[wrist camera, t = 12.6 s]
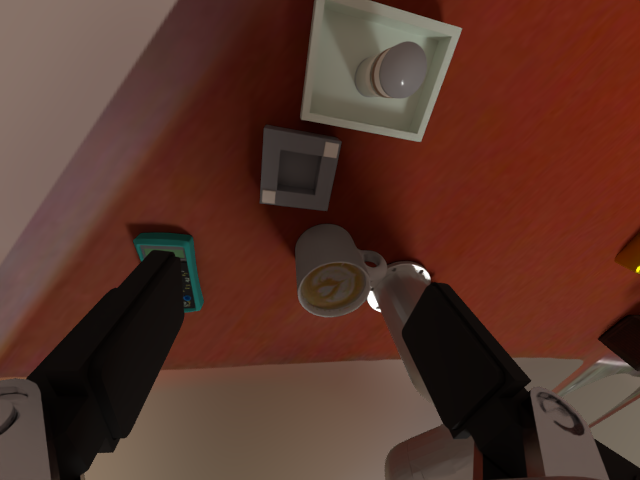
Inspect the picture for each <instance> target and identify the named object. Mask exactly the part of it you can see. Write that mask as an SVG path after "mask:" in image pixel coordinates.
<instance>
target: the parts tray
mask: <svg viewBox="0 0 640 480" xmlns="http://www.w3.org/2000/svg"><path fill="white" fill-rule="evenodd" d="M461 30H462V28H459V27H456V26H453V25H449V24H446V23H443V22H440V21H436V20H433V19H430V18H426V17H423V16H420V15H416V14H413V13H410V12H407V11H403V10H400V9H397V8H393V7H390V6H387V5H383V4H380V3H377V2H374V1H370V0H314V6H313V15H312V23H311V31H310V39H309V47H308V56H307V64H306V72H305V80H304V88H303V96H302V105H301V113H300V118H301V120H306V121H312V122H317V123H322V124H328V125H333V126H338V127H343V128H349V129H354V130H359V131H365V132H370V133H375V134H381V135H386V136H391V137H396V138H402V139H407V140H412V141H418V142H421V140H422V137H423V135H424V132H425V129H426V126H427V124H428V121H429V118H430V115H431V113H432V110H433V107H434V104H435V102H436V99H437V96H438V93H439V91H440V88H441V85H442V82H443V80H444V77H445V74H446V72H447V69H448V66H449V63H450V61H451V58H452V55H453V52H454V50H455V47H456V44H457V41H458V39H459V36H460V33H461ZM406 41H410V42H414V43H416V44H418V45H419V46H420V47H421V48H422V49H423V51H424V53H425V55H426V59H427V71H426V75H425V78H424V81H423V83H422V84H421V86H420V87H419V89H418V90H417V91H416V92H415V93H414V94H412V95H411V96H409V97H406V98H383V97H365V96H363V95H361V94H360V93H359V92H358V90H357V89H356V86H355V72H356V69H357V67H358V66H359V64H360V63H361V62H362V61H363V60H364V59H366V58H368V57H371V56H374V55H376V54H378V53H381V52H382V51H384V50H386V49H388V48H391V47H393V46H395V45H397V44H399V43H402V42H406Z"/></svg>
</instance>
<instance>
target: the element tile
mask: <svg viewBox="0 0 640 480" xmlns="http://www.w3.org/2000/svg"><path fill="white" fill-rule="evenodd" d="M615 262H616V263H618V264H620V265H621V266H623V267H625V268H627V269H629V270H631V271H633V272H635V273H638V274H640V232H639V233H638V234H637V235H636V236H635V237H634V238H633V239H632V240H631V241H630V242H629V243H628V244H627V245H626V246H625V247H624V248H623V250H622V251H621V252H620V253H619V254H618V255H617V256H616V258H615Z"/></svg>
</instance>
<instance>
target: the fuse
mask: <svg viewBox="0 0 640 480" xmlns="http://www.w3.org/2000/svg"><path fill="white" fill-rule="evenodd" d="M426 71H427V59H426V55H425V53H424V51H423V49H422V48H421V47H420V46H419V45H418V44H416V43H414V42H410V41H406V42H402V43H399V44H397V45H395V46H393V47H391V48H388V49H386V50H384V51H382V52H381V53H378V54H376V55H374V56H371V57H368V58H366V59H364V60H363V61H362V62H361V63H360V64H359V66H358V67H357V69H356V72H355V86H356V89H357V90H358V92H359V93H360V94H361V95H363V96H365V97H383V98H406V97H409V96H411V95H412V94H414V93H415V92H416V91H417V90H418V89H419V87H420V86H421V84H422V83H423V81H424V78H425V75H426Z"/></svg>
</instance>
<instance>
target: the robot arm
mask: <svg viewBox="0 0 640 480" xmlns="http://www.w3.org/2000/svg"><path fill="white" fill-rule="evenodd" d="M367 301H368V303H369V305H370V306H371V307H372V308H373V309H375V310H377V311H379V312H381V313H382V315H383V317H384V320H385V322H386V324H387V327H388V329H389V331H390V333H391V336H392V338H393V340H394V343H395V345H396V347H397V349H398V352H399V354H400V356H401V359H402V361H403V363H404V365H405V368H406V370H407V372H408V375H409V377H410V379H411V381H412V383H413V385H414V387H415V388H416V390H417V391H418V392H419V394H420V395H421V396H422V397H424V398H425V399H426V400H427V401H428V402H430V403H431V404H433V405H434V406H435V407H436V409H437V412H438V414H439V416H440V418H441V420H442V422H443V424H441V425H440V426H438V427H436V428H433V429H431V430H428V431H426V432H424V433H421V434H419V435H417V436H414V437H412V438H410V439H408V440H405V441H404V442H401V443H399V444H397V445H396V446H394V447H393V448H392V449H391V450H390V452H389V453H388V455H387V457H386V460H385V480H640V468H639V467H637V466H636V465H634V464H633V463H631V462H630V461H628V460H626V459H625V458H623V457H622V456H620V455H619V454H617V453H616V452H614V451H612V450H611V449H609V448H608V447H606V446H605V445H603V444H602V443H600V442H599V441H597V440H596V439H594V438H593V435H592V433H591V430H590V428H589V426H588V424H587V423H586V421H585V420H584V419H583V417H582V416H581V415H580V414H579V413H578V412H577V411H576V409H575V408H573V406H571V405H570V404H569V403H568V402H567V401H565V400H564V399H563V398H562V397H560V396H559V395H557V394H556V393H554V392H552V391H550V390H548V389H546V388H542V387H533V388H532V389H531V390H530V391H529V392H528V391H527V390H526V389H525V388H524V387H525V386H526V385H527V384H528V383H530V382H531V380H530V379H529V378H528V376H527V375H526V374H525V373H524V372H523V371H522V370H521V368H520V367H519V366H518V365H517V364H516V362H515V361H514V360H513V359H512V358H511V357H510V355H509V354H508V353H507V352H506V351H505V350H504V348H503V347H502V346H501V345H500V344H499V343H498V341H497V340H496V339H495V338H494V337H493V336H492V334H491V333H490V332H489V331H488V330H487V329H486V328H485V326H484V325H483V324H482V323H481V322H480V321H479V319H478V318H477V317H476V316H475V315H474V314H473V312H472V311H471V310H470V309H469V308H468V307H467V305H466V304H465V303H464V302H463V301H462V300H461V298H460V297H459V296H458V295H457V294H456V293H455V291H454V290H453V289H452V288H451V287H450V286H449V285H448V284H445V283H436V282H433V283H431V279H430V275H429V273H428V272H427V270H426V269H425V268H424V267H423V266H422V265H420V264H418V263H416V262H412V261H399V262H395V263H392V264H389V265H387V272H386V275H385V276H384V277H383V278H381V279H379V280H374V281H371V290H370V293H369V296H368V298H367ZM183 320H184V302H183V287H182V272H181V259H180V257H175V254H174V252H170V251H161V250H152V251H151V252H150V253H149V254H148V255H147V256H146V257H145V258H144V260H143V261H142V262H141V263H140V264H139V265H138V266H137V267H136V268H135V269H134V271H133V272H132V273H131V274H130V275H129V276H128V277H127V278H126V279H125V280H124V282H123V283H122V284H121V285H120V286H119V287H118V288H114V289H111V290H110V291H109V292H108V293H106V295H105V296H104V297H103V298H102V299H101V300H100V301H99V302H98V303H97V304H96V305H95V306H94V307H93V308H92V309H91V310H90V311H89V313H88V314H87V315H86V316H85V317H84V318H83V319H82V320H81V321H80V322H79V323H78V324H77V325H76V326H75V327H74V328H73V329H72V331H71V332H70V333H69V334H68V335H67V336H66V337H65V338H64V339H63V340H62V341H61V342H60V343H59V344H58V345H57V346H56V348H55V349H54V350H53V351H52V352H51V353H50V354H49V355H48V356H47V357H46V358H45V359H44V360H43V361H42V362H41V363H40V364H39V366H38V367H37V368H36V369H35V370H34V371H33V372H32V373H31V374H30V375H29V376H28V377H27V378H26V379H16V378H15V379H9V380H2V381H0V480H85V475H84V473H85V472H86V471H87V470H88V469H89V468H90V466H91V464H92V462H93V460H94V458H95V456H96V455H97V453H109V452H114V450H115V448H116V446H117V444H118V442H119V440H120V438H126V437H127V436H128V435H129V433H130V432H131V430H132V428H133V426H134V424H135V421H136V419H137V417H138V415H139V413H140V411H141V409H142V407H143V405H144V403H145V401H146V399H147V397H148V394H149V392H150V390H151V388H152V386H153V384H154V382H155V379H156V378H157V376H158V373H159V371H160V369H161V367H162V365H163V363H164V361H165V359H166V357H167V355H168V353H169V351H170V348H171V346H172V344H173V342H174V340H175V338H176V336H177V334H178V332H179V330H180V328H181V325H182V323H183Z"/></svg>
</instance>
